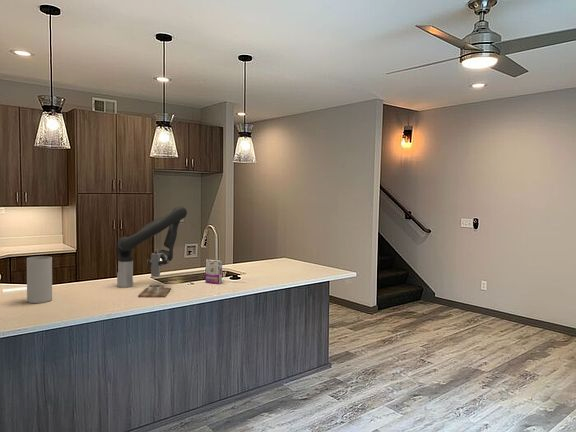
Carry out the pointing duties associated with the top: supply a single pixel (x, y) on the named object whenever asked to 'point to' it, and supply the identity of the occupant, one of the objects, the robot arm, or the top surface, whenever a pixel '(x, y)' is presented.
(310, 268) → the top surface
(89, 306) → the top surface
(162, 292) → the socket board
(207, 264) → the candy bar box
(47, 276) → the cylinder vase
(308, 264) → the top surface
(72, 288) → the top surface
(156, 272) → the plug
